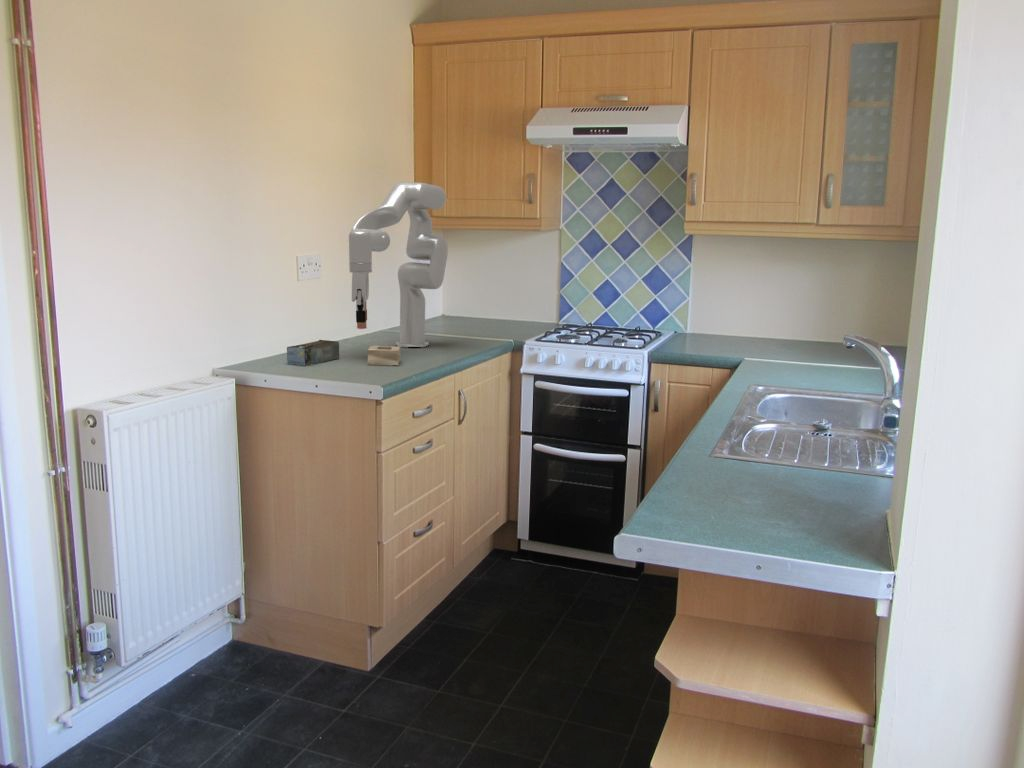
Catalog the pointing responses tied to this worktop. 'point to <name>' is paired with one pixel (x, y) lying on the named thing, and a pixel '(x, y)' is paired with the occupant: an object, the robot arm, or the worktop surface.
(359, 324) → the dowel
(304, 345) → the weathered blue-grey brick
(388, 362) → the socket block
